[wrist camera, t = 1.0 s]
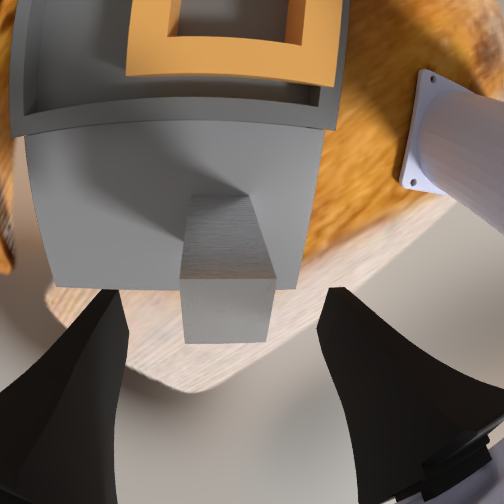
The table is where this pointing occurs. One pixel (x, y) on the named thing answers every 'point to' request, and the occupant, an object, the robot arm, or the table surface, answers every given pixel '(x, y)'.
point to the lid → (165, 194)
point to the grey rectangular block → (225, 272)
